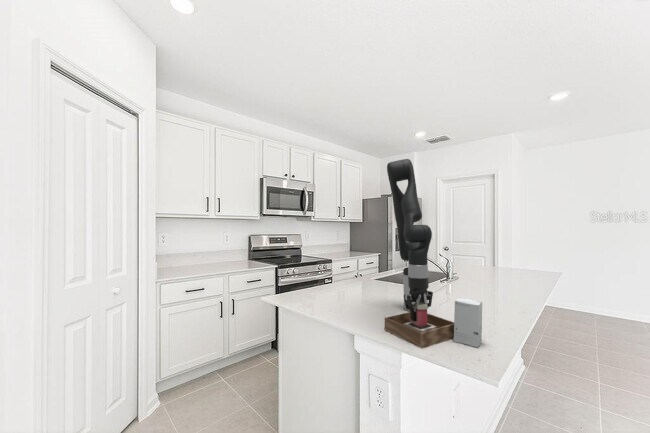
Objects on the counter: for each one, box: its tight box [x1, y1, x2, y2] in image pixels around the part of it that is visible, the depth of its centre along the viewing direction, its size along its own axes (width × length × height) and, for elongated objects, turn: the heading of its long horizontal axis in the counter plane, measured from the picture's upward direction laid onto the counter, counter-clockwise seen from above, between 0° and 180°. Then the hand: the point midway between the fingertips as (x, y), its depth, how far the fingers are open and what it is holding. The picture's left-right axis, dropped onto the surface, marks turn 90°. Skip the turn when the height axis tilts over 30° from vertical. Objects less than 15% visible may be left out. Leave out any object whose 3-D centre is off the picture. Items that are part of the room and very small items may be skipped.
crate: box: [384, 311, 454, 349], centre depth 110 cm, size 19×19×5 cm
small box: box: [411, 302, 428, 326], centre depth 110 cm, size 5×4×8 cm
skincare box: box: [453, 297, 483, 348], centre depth 101 cm, size 8×6×15 cm
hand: (418, 319), depth 110 cm, fingers closed on small box, 5 cm apart
